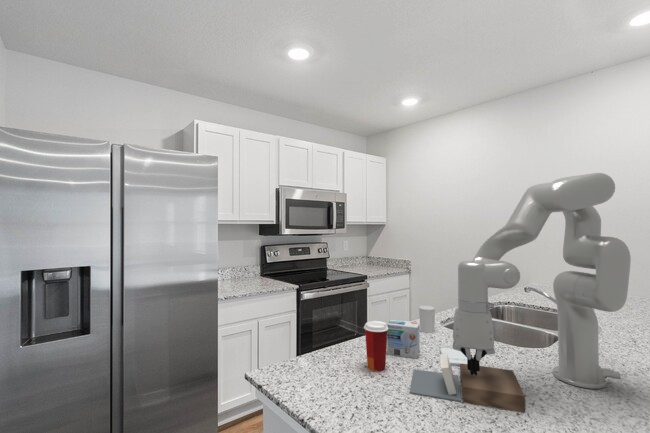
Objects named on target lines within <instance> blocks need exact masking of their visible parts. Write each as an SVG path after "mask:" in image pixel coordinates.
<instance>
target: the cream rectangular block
mask: <svg viewBox="0 0 650 433" xmlns="http://www.w3.org/2000/svg"><path fill="white" fill-rule="evenodd" d="M439 356H440V357H439V358H440V360H439V361H440V371H441V373H442V374H443V377H444V380H445V384H446V387H447V391H448V394H449V395H452V394H456V386H455V379H454V375H455V374H454V371H453V368H452V366H451V365H450V361H449V358H448V355H447V353H446V354H441V353H440V354H439Z"/></svg>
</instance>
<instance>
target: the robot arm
mask: <svg viewBox="0 0 650 433" xmlns="http://www.w3.org/2000/svg"><path fill="white" fill-rule="evenodd" d="M615 190H616V184H615V181H614V180H613V178H612V177H611V176H610V175H608V174H606V173H603V172H594V173H593V172H592V173H587V174H579V175H572V176H565V177H561V178H557V179H555V180H553V181H551V182H546V183H545V182H543V183H537V184H534V185H531V186H530V187H528V188H527V189H526V190H525V192H524V193H523V195H522V196H521V199H520V200H519V202H518V203H517V205H516V206H515V209H514V210H513V212H512V213H511V216H510V217H509V219H508V221H507V222H506V223H505V225H504V226H502V227H501V228H500V229H499V230H497V231H496V232H495V233H493V234H492V235H491V236H490V237H488V238H487V239H486V240H485V241H484V242H483V243H482V244H481V246H480V247H479V249H477V252H476V253H475V256H474V257H473V259H472V260H464V261H460V262H459V264H458V265H457V266H458V267H457V290H458V291H457V292H458V294H457V297H458V298H457V299H458V300H457V301H458V303H457V305H458V307H457V308H455V310H454V316H453V324H452V325H453V330H452V331H453V332H452V333H453V334H452V336H453V343H452V346H451V347H452V349H454V350H457V351H461V352H462V353H463V354H464V355H465V356H466V357H467V369H468V370H470V373H471V375H473V374H474V375H477V371H480V366H481V365H480V361H481V359H483V358H484V357H485V356H487V355H495V353H496V350H495V347H494V346H495V336H494V325H493V317H492V314H491V311H490V310H491V309H494V308H495V304H494V303H493V302H489V293H488V292H489V288H493V289H501V290H507V289H512V288H514V287H515V286H517V285H518V284H519V282H520V280H521V272H520V270H519V269H518V268H517V266H516V265H514V264H513V263H511V262H508V261H504V260H501V258H503V257H504V256H505V255H506V254H507V253H509V252H510V251H511V250H514V249H516V248H519V247H522V246H524V245H527V244H530V243H532V242H534V241H536V239H537V238H538V236H539V235H540V233H541V231H542V230H543V228H544V226H545V224H546V222H547V221H548V219H549V218H550V216H551V214H552V213H562V214H563V215H564V220H565V223H564V224H565V226H564V228H565V229H564V238H563V247H562V257H563V260H564V262H565V263H566V264H568V265H570V266H573V267H577V268H583V269H591V270H595V273H589V272H585V271H584V272H583V271H577V270H576V271H575V270H567V271H562V272H560V273H558V274H557V275H556V276H555V277H554V279H553V283H552V287H553V293H554V294H553V295H554V297H555V301H556V307H557V337H558V338H557V341H558V342H557V344H558V346H557V347H558V349H557V351H558V365H557V366H555V367H553V368H552V374H553V376H554V377H555V378H556V379H558V380H559V381H562V382H564V383H565V384H569V385H572V386H574V387H579V388H583V389H592V390H593V389H595V390H596V389H597V390H598V389H604V388H605V387H607V380H606V379H609V378H611V379H615V380H621V379H622V376H621V372H620V371H614V370H613V371H612V370H611V368H606V367H601V366H600V363H599V362H600V360H599V356H600V355H599V354H600V352H599V322H598V317H597V315H596V314H597V313H595V312H596V311H595V310H598V311H602V312H608V313H612V312H615V313H616V312H619V311H620V310H621V309H622V308H624V306H625V304H626V301H627V300H628V299H627V298H628V292H629V282H630V281H629V280H630V272H631V262H632V259H631V252H630V249H629V247H628V246H627V244H626V243H625V241H623V240H622V239H620V238H618V237H613V236H603V235H602V233H601V230H602V220H601V216H600V214H599V212H598V211H597V209H596V208H595V207H594V206H598V205H601V204H603V203H606V202H608V201H609V200H610V199H612V197H613V196H614V195H615V192H616V191H615ZM471 349H472V350H475V352H474V355H472V353H471Z"/></svg>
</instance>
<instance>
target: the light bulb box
mask: <svg viewBox="0 0 650 433" xmlns="http://www.w3.org/2000/svg"><path fill="white" fill-rule="evenodd" d="M386 324H387V327H388V330H387V347H386V355H391V356H396V357H397V356H398V357H404V358H409V359H414V360H415V359H417V360H418V357H419V354H420V349H421V348H420V344H421V343H420V333H421V332H420V321H408V320H399V319H392V318H391V319H390V320H389V322H388V323H386Z"/></svg>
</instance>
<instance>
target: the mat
mask: <svg viewBox="0 0 650 433" xmlns="http://www.w3.org/2000/svg"><path fill="white" fill-rule="evenodd" d="M453 375H454V379H455V386H456V394H452V395H449V394H448V391H447V387H446V384H445V380H444V377H443V374H442V372H437V371H429V370H421V369H416V368H414V369H413V372H412V376H411V381H410V382H411V383H410V387H409V394H410V395H416V396H421V397H428V398H434V399H439V400H447V401H452V402H457V403H462V394H461V389H460V386H461V385H460V380H459V378H460V376H459V375H458V374H453Z"/></svg>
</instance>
